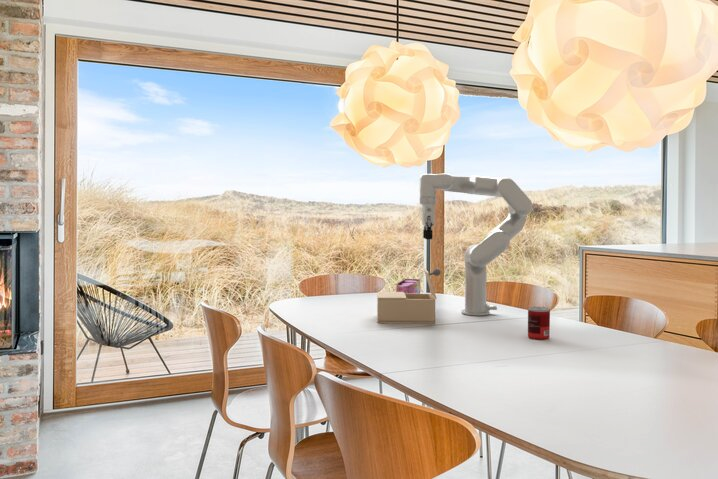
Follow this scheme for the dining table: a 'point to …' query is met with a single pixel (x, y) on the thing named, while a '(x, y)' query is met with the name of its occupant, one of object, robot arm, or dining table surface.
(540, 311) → the canned food
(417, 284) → the gum box
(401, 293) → the carton
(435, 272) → the carton flap
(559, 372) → the dining table surface
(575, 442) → the dining table surface
